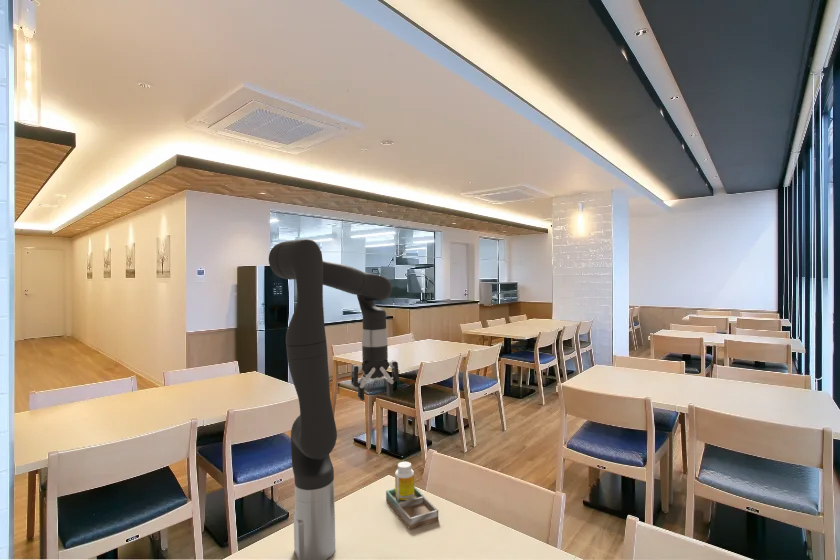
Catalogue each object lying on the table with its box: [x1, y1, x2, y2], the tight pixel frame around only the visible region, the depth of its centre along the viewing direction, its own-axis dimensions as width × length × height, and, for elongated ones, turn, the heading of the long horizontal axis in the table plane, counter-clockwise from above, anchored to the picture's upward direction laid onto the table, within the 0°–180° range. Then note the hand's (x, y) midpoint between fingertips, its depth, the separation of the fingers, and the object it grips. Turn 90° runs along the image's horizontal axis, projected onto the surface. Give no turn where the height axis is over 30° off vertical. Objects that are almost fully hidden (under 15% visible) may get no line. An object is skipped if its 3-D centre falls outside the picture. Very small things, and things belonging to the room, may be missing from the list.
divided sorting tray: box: [385, 485, 440, 531], centre depth 119 cm, size 8×16×3 cm, turn 27°
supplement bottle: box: [394, 461, 415, 503], centre depth 122 cm, size 6×6×10 cm
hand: (375, 397), depth 126 cm, fingers open, 8 cm apart
